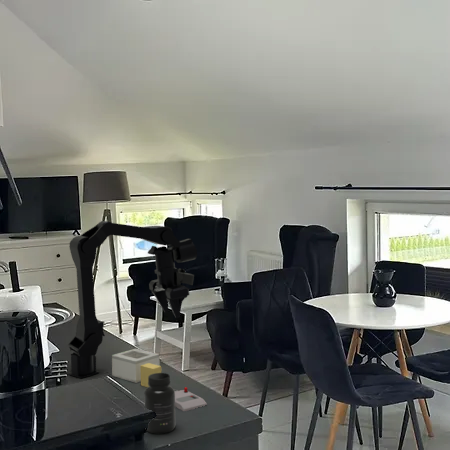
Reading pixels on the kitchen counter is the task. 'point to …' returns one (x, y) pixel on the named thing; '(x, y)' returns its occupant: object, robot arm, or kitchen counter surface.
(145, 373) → the yellow rectangular block
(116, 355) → the coin box
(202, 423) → the kitchen counter surface
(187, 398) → the white control pad
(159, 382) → the supplement bottle
